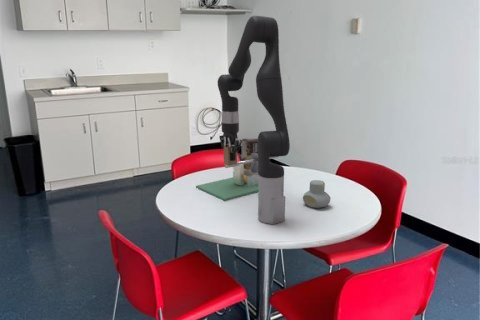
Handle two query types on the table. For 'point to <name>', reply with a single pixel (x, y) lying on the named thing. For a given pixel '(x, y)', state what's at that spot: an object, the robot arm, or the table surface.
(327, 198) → the air freshener
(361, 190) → the table surface
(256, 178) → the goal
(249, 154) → the coffee box
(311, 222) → the table surface
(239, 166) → the rod
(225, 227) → the table surface
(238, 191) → the pitch
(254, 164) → the rod support
